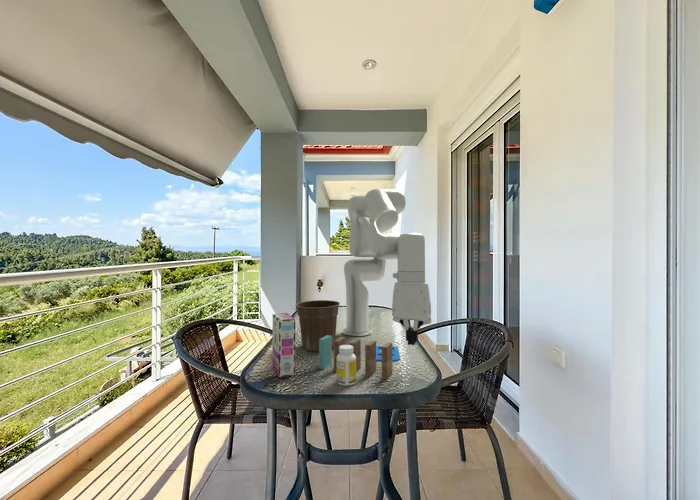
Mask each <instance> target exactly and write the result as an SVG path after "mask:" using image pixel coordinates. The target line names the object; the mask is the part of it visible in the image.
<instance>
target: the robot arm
mask: <svg viewBox="0 0 700 500" xmlns="http://www.w3.org/2000/svg"><path fill="white" fill-rule="evenodd" d="M406 203H407V201H406V197H405V195H404V193H403V192H402V191H401V190H399V189H390V188H389V189H388V188H374V189H371V190H369V191H368V192H367V193H366V194H365V195H354V196H352V197H350V198H349V200H348V202H347V213H348V216H349V217H348V218H349V221H350V231H349V243H348V244H349V249H348V250H349V254H350V255H351V256H352V257H355V258H353V259H349V260H347V261H346V262H344V265H343V274H344V279H345V293H346V294H345V296H346V297H345V298H346V299H345V300H346V301H345V302H346V303H345V305H346V307H345V308H346V310H345V311H346V312H345V314H346V315H345V317H346V318H345V319H346V321H345V322H346V324H345V325H346V327H345V328H343V329H342V334H344V335H346V336H349V337H364V336H365V337H366V336H369V335H371V334H372V333H373V329H372V328H371V327H369V324H370V323H371V321H370V320H369V291H368V288H367V286H366V285H364V283H363V282H374V281H375V282H376V281H377V282H378V281H381V280H382V279H383V278H384V276H385V271H386V262H387V260H397V271H396V272H393V273H392V278H393V279H396V281H397V282H394V286H393V292H392V301H391V302H392V303H391V315H392V322H396V323H399V324H400V325H401V326H402V327H403V328H404V331H405V341H407V345H408V346H415V345H416V343H418V341H419V329H420V328H421V327H422V326H424V325H430V324H431V323H432V317H431V314H432V303H431V293H430V288H429V283H428V282H426V241H425V239H426V238H425V236H424V234H422V233H417V232H412V233H411V232H409V233H384V232H386V231H388V230H390V229H392V228H394V226H396V224H397V223H398V221H399V214H401V213H402V212H404V210H405V207H406ZM369 218H370V219H371V220H370V219H369ZM411 321H413V324H412V325H411Z"/></svg>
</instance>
